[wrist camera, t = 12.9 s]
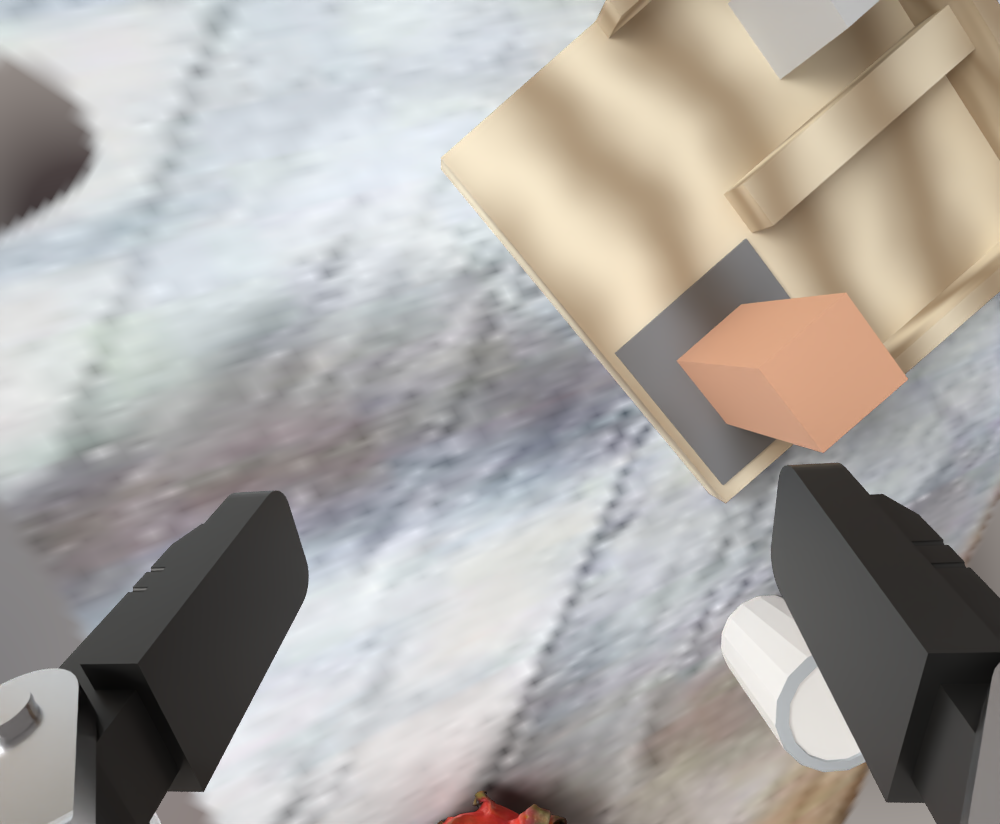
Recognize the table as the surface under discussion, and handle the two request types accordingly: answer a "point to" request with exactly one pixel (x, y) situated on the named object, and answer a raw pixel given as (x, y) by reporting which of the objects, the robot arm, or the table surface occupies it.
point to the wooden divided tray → (747, 190)
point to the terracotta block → (794, 369)
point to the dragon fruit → (503, 814)
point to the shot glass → (787, 685)
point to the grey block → (796, 26)
